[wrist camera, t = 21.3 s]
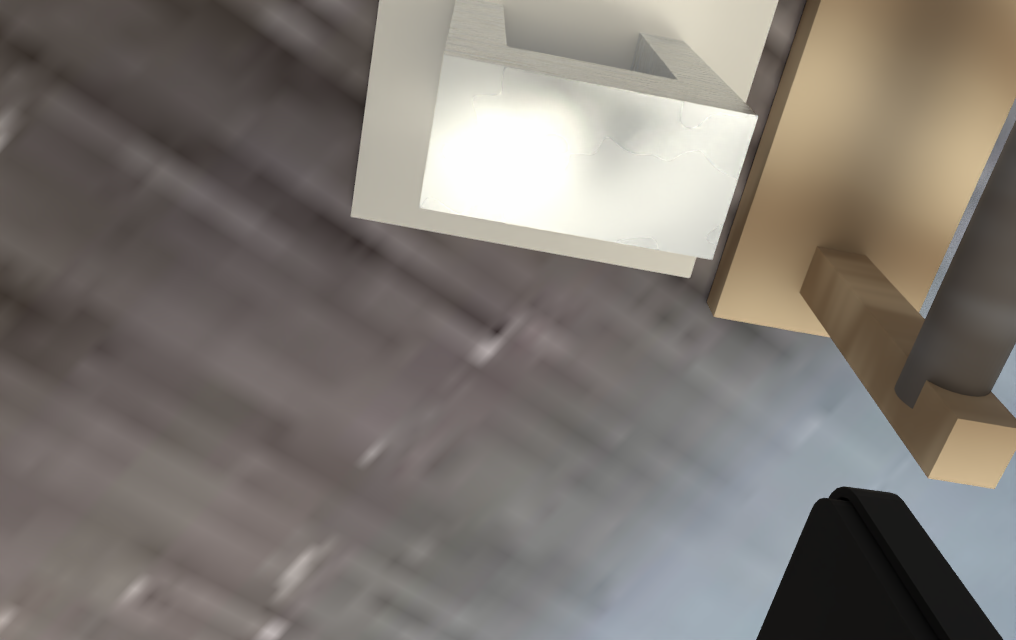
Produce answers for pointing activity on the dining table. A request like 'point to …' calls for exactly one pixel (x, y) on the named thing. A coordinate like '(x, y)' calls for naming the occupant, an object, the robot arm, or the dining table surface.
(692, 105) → the notched grey block
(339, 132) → the dining table surface
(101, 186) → the dining table surface
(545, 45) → the square tile
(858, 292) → the rail stand
